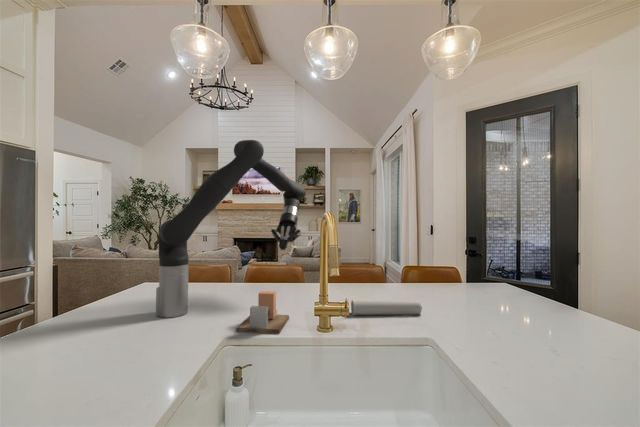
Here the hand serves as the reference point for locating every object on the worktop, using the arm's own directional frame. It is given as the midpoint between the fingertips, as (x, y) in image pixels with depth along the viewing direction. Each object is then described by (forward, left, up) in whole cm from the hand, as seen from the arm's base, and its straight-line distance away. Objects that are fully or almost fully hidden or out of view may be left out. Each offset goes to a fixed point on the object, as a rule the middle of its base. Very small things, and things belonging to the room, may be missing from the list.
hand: (282, 248), depth 116 cm
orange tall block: (0, -20, -20) cm, 29 cm away
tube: (+40, -7, -22) cm, 46 cm away
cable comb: (0, -18, -21) cm, 27 cm away
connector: (0, -28, -21) cm, 35 cm away
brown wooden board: (0, -23, -22) cm, 32 cm away
